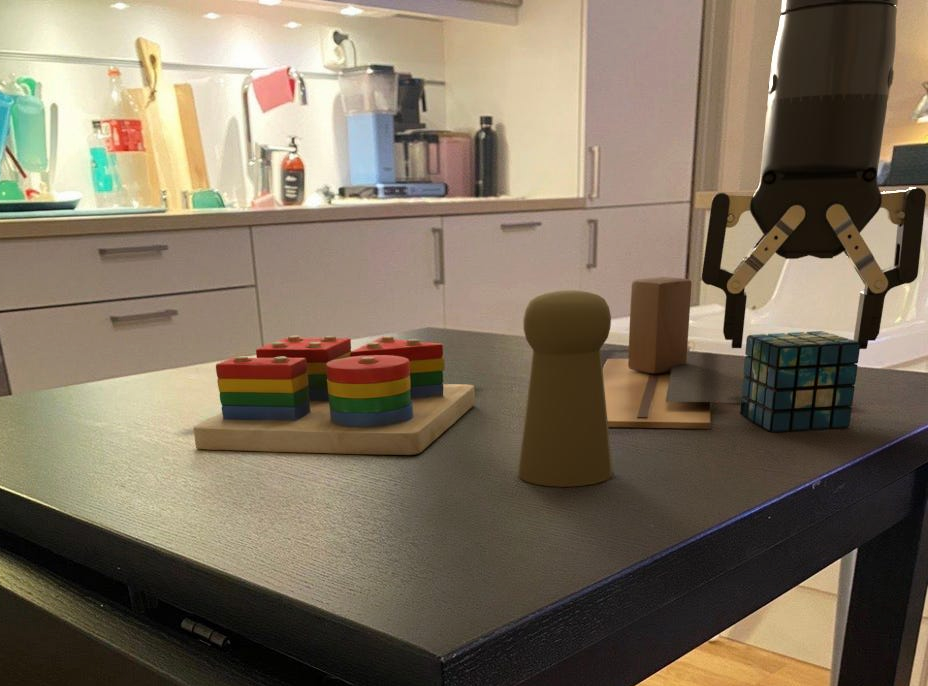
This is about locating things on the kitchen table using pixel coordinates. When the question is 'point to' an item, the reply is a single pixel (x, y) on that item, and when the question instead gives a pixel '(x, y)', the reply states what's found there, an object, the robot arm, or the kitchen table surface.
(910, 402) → the kitchen table surface
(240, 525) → the kitchen table surface
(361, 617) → the kitchen table surface
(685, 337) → the wooden block
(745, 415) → the puzzle
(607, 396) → the tan wooden flat board
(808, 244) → the robot arm
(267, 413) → the shape sorter
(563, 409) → the pepper shaker
